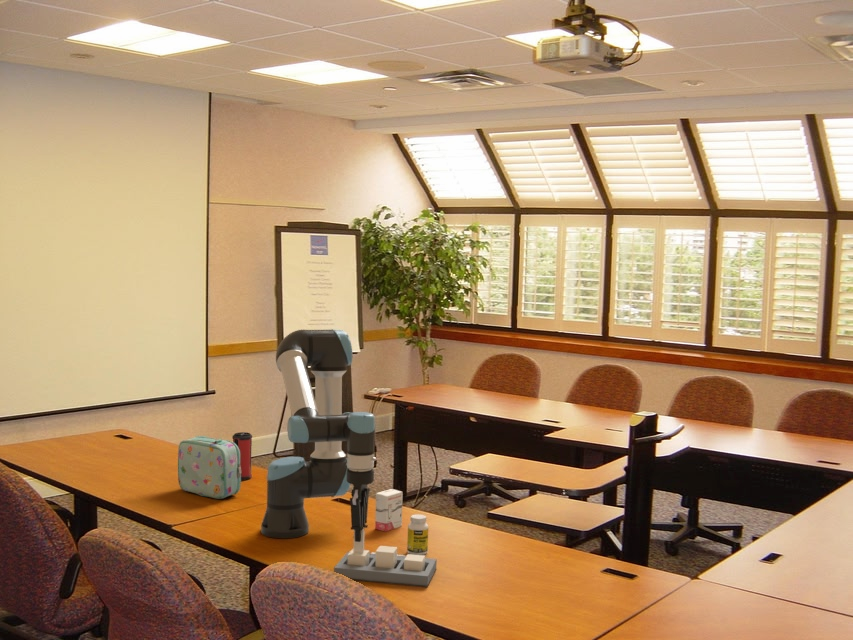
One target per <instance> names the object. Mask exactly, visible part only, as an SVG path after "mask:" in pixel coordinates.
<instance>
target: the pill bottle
mask: <svg viewBox="0 0 853 640" xmlns="http://www.w3.org/2000/svg"><path fill="white" fill-rule="evenodd" d="M406 543H407V544H406V545H407V546H406V551H407V554H413V555H424V556H425V555H426V554H428V550H429V525H428V523H427V516H426V515H424V514H412V515H410V523H409V524H408V525H407V542H406Z"/></svg>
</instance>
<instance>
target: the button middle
mask: <svg viewBox="0 0 853 640" xmlns="http://www.w3.org/2000/svg"><path fill="white" fill-rule="evenodd" d="M375 553H376V564H375V567H383V568H394V567H395V565H396V564H397V555H398V546H389V545H379V546H378V547H377V549H376V550H375Z"/></svg>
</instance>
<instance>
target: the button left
mask: <svg viewBox="0 0 853 640" xmlns="http://www.w3.org/2000/svg"><path fill="white" fill-rule="evenodd" d="M369 553H370V550H368V549H364V552H363V553H357V552H353V548H352V549H351V550H350V551H349V554H348V561H347V564H349V565H360V566H368V565H369Z"/></svg>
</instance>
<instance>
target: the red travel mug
mask: <svg viewBox="0 0 853 640" xmlns="http://www.w3.org/2000/svg"><path fill="white" fill-rule="evenodd" d="M231 437H232V442H233V443H235V444H236V445H237V446H238V448H239V450H240V467H241V472H242V473H241V481H248V480H251V479H252V478H253V477H252V442H253V441H252V440H253V435H252V434H251V433H250V432H244V431H243V432H236V433H234V434H233V435H232V436H231Z"/></svg>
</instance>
